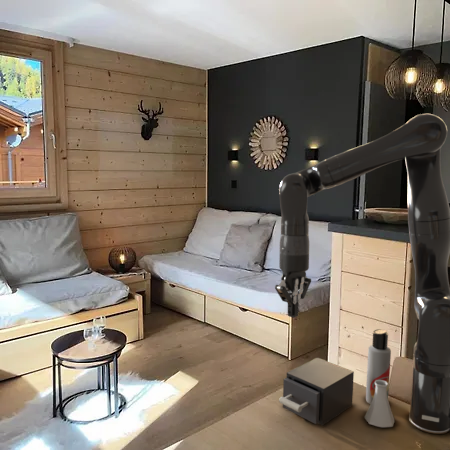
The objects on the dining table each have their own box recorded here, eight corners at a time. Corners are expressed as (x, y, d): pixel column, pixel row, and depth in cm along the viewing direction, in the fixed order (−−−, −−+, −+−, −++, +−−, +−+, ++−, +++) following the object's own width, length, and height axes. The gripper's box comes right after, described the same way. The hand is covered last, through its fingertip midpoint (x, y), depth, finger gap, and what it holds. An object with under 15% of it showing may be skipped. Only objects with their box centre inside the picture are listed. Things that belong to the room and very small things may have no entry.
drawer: (305, 431, 107) (306, 400, 106) (271, 413, 114) (272, 384, 113) (344, 405, 118) (345, 377, 117) (311, 390, 126) (312, 364, 125)
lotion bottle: (388, 408, 119) (392, 335, 116) (365, 405, 120) (369, 333, 117) (387, 397, 124) (391, 328, 121) (365, 394, 126) (369, 325, 123)
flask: (397, 430, 109) (399, 391, 108) (365, 426, 110) (367, 388, 109) (392, 414, 116) (394, 377, 115) (362, 410, 117) (364, 374, 116)
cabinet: (322, 425, 111) (323, 388, 109) (285, 406, 119) (286, 372, 118) (352, 405, 120) (353, 371, 119) (316, 389, 128) (317, 357, 127)
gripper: (290, 257, 109) (288, 326, 111) (321, 249, 118) (319, 313, 120) (266, 252, 114) (265, 319, 116) (297, 246, 123) (296, 307, 125)
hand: (293, 316), depth 118 cm, fingers closed
